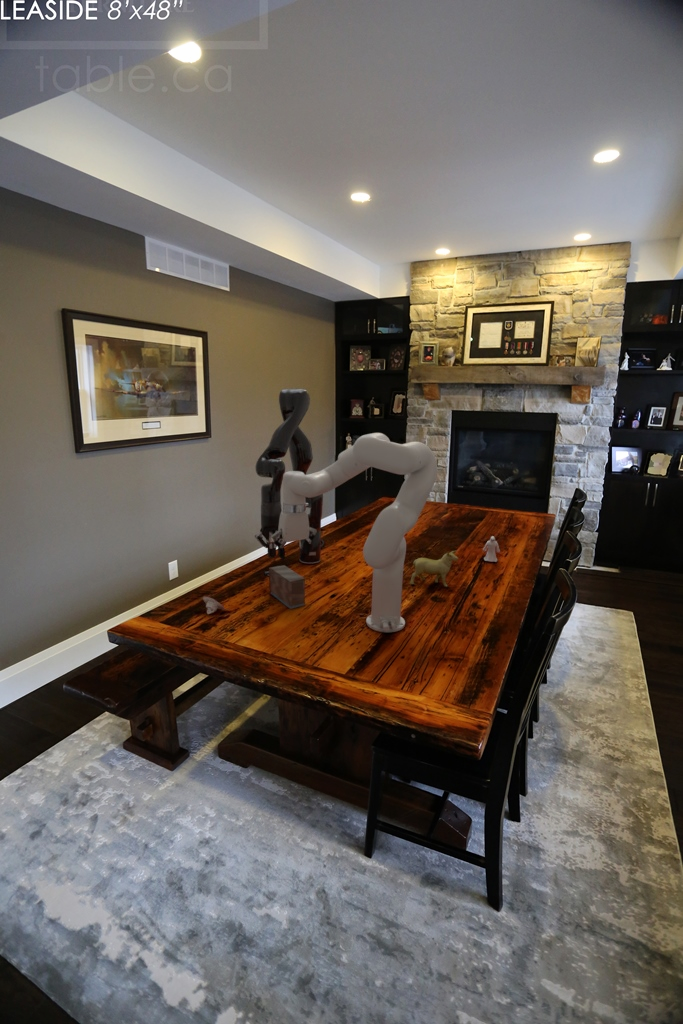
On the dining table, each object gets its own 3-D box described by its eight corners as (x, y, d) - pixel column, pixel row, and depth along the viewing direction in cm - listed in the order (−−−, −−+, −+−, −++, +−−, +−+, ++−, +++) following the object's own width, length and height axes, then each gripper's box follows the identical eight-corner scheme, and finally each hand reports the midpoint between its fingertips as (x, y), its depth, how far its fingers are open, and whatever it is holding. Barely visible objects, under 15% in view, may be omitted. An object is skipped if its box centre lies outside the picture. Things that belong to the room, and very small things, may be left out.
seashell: (209, 622, 169) (193, 604, 168) (220, 611, 173) (205, 594, 172) (217, 618, 163) (201, 599, 162) (228, 607, 167) (213, 589, 166)
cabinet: (270, 593, 185) (270, 567, 182) (284, 590, 188) (284, 565, 186) (290, 608, 172) (290, 581, 170) (304, 605, 175) (304, 578, 173)
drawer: (263, 584, 191) (262, 563, 189) (274, 581, 194) (273, 561, 192) (287, 602, 175) (286, 580, 173) (298, 599, 178) (298, 577, 176)
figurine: (481, 562, 222) (483, 536, 219) (482, 556, 230) (484, 531, 227) (499, 564, 220) (501, 538, 217) (499, 558, 228) (501, 533, 225)
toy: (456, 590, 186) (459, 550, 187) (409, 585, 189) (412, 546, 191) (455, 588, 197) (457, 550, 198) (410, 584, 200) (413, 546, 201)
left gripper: (282, 508, 190) (283, 551, 194) (250, 512, 182) (251, 557, 187) (292, 512, 183) (292, 557, 188) (258, 517, 176) (259, 563, 181)
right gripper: (310, 503, 177) (310, 548, 181) (266, 508, 168) (266, 556, 172) (321, 507, 171) (321, 554, 175) (276, 513, 161) (276, 563, 166)
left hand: (271, 557), depth 187 cm, fingers closed
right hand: (294, 555), depth 173 cm, fingers open, 9 cm apart
